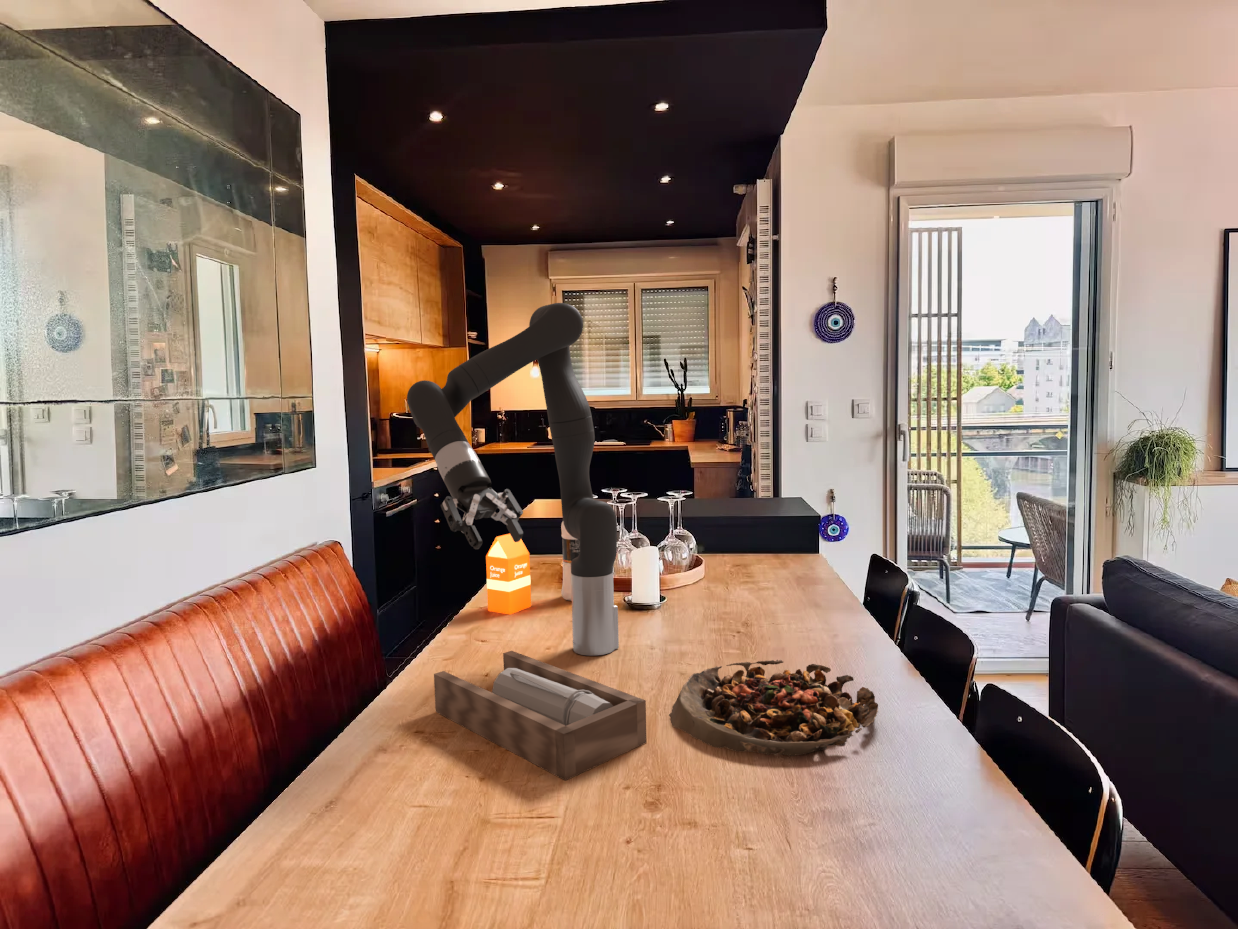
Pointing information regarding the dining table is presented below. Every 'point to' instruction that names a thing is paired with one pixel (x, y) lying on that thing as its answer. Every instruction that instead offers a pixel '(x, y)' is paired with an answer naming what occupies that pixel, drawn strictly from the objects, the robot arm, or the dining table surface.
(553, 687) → the water bottle
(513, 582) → the orange juice
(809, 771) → the dining table surface
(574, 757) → the bottle rest
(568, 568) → the vodka
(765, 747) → the food dish
